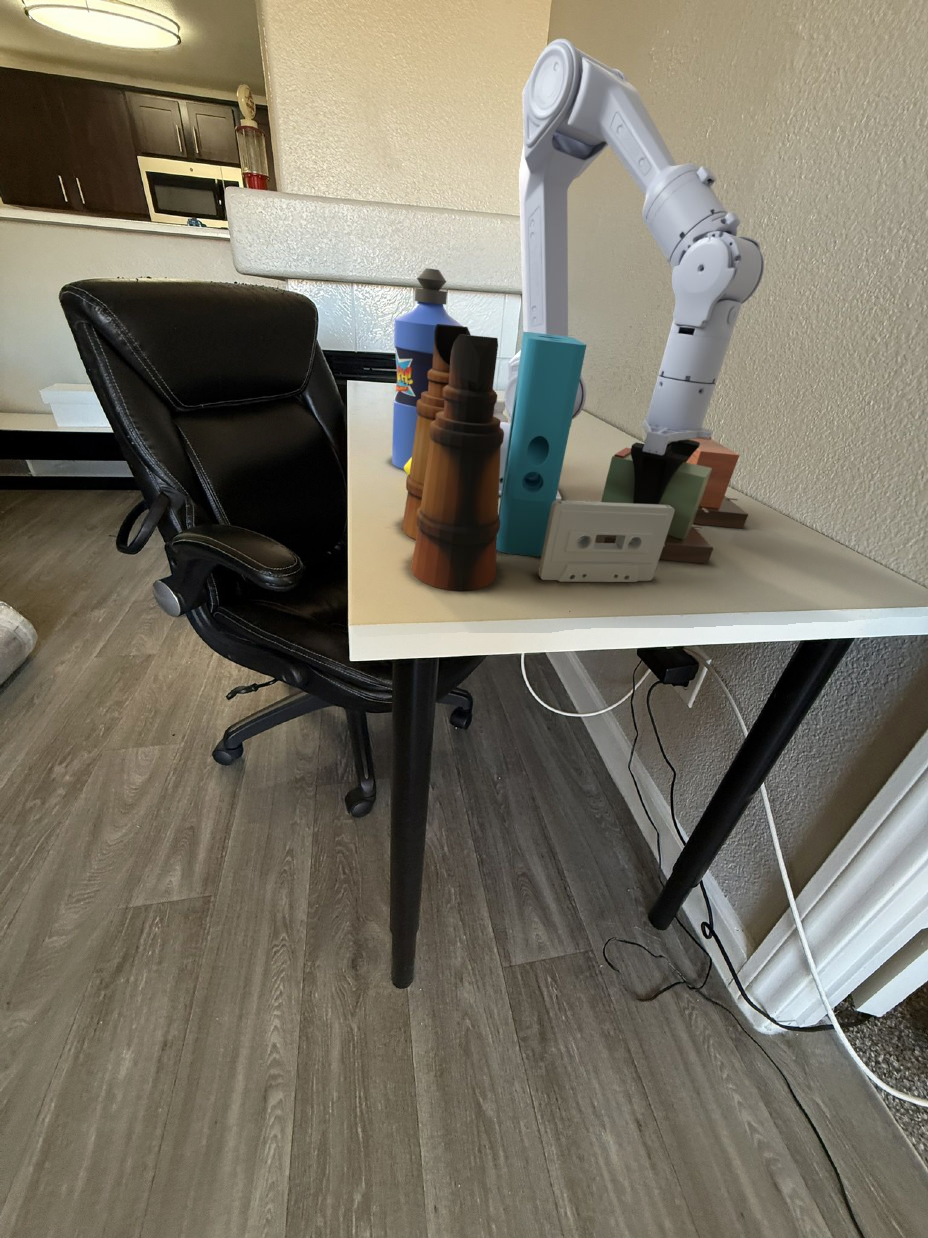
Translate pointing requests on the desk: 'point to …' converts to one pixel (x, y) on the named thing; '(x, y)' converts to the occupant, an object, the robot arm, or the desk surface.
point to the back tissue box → (714, 469)
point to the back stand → (722, 515)
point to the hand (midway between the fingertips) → (648, 506)
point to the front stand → (677, 546)
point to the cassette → (604, 562)
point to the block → (537, 439)
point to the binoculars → (456, 465)
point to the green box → (678, 493)
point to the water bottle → (415, 358)
